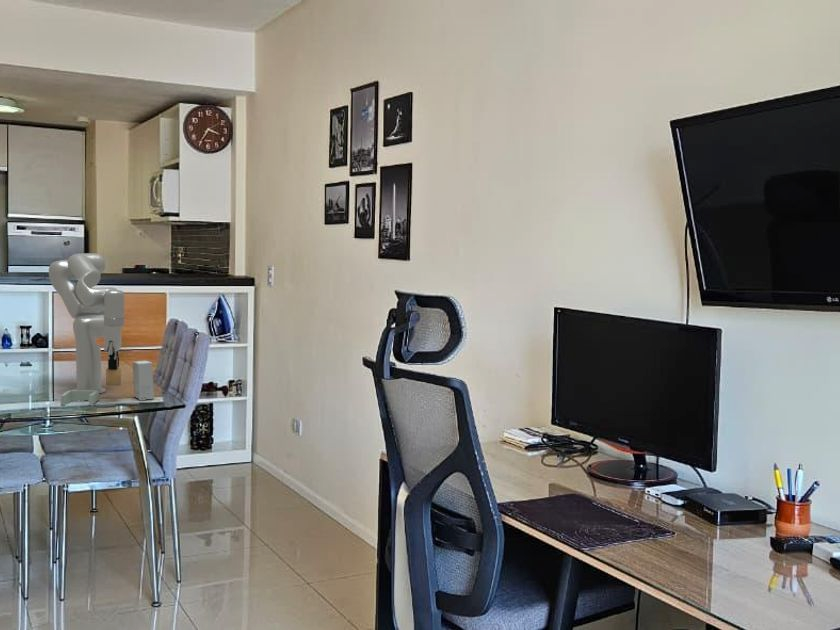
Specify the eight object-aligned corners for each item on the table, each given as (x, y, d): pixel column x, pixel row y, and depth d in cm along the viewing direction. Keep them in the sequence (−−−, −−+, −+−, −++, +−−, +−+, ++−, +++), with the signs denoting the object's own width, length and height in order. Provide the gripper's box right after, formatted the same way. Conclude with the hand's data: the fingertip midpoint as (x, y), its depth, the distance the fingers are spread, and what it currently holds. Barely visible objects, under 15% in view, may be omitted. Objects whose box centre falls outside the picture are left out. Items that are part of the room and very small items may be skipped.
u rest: (68, 400, 348) (68, 390, 348) (98, 400, 350) (98, 390, 349) (61, 405, 338) (61, 395, 338) (92, 405, 339) (92, 395, 339)
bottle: (107, 382, 353) (107, 355, 351) (122, 382, 353) (122, 355, 352) (104, 385, 347) (104, 357, 346) (119, 385, 348) (119, 358, 346)
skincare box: (154, 399, 353) (153, 362, 352) (138, 401, 350) (138, 363, 348) (147, 396, 360) (147, 359, 359) (132, 397, 357) (132, 360, 355)
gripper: (108, 318, 355) (108, 364, 357) (99, 324, 338) (98, 372, 341) (128, 319, 356) (127, 364, 358) (119, 325, 339) (119, 372, 342)
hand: (113, 367), depth 349 cm, fingers closed on bottle, 3 cm apart
